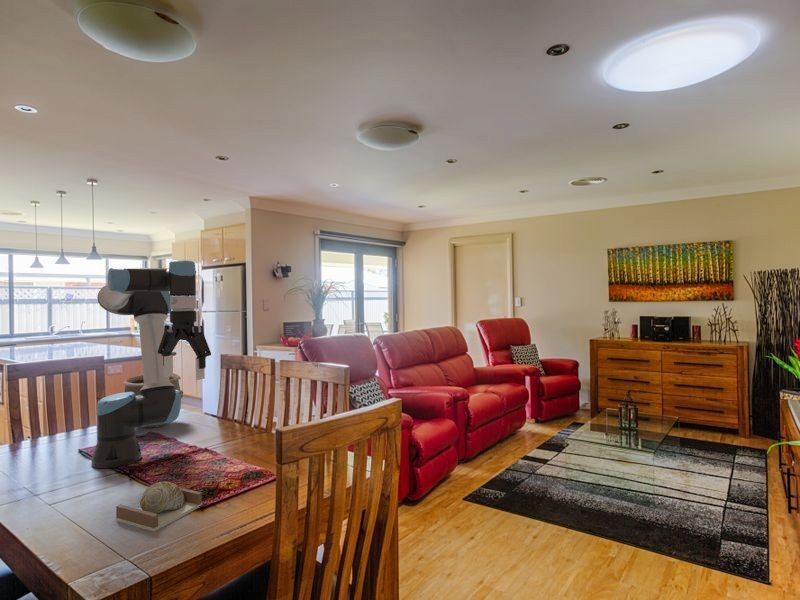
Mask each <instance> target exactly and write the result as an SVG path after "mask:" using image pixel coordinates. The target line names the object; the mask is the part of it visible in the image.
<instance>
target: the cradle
mask: <svg viewBox="0 0 800 600" xmlns="http://www.w3.org/2000/svg"><path fill="white" fill-rule="evenodd" d="M178 487H179V486H178ZM179 488H180V489H181V491H182V493H183V494H184V505H183V507H181V508H178V509H171V510H164V511H162V512H160V513H158V514H155V513H151V512H147V511H144V510H142V509H141V507H140V506H139V507H137V508H136V507H131V506H129V505H128V506H127V505H124V504H118V505H116V506H115V516H116V517H115V519H116V520H115V521H116V522H119V523H123V524H126V525H130V526H133V527H137V528H141V529H144V530H147V531H151V532H156V531H158V530H159V529H162V528H163V527H165V526H167V525H169V524H170V523H173V522H175V521H177V520H179V519H180V518H182V517H184V516H186V515H187V514H190V513H191V512H193V511H196V510H197V509H199V508H200V507H199V506H201V505H202V506H203V503H202V502H203V497H202V496H203V494H202V491H196V490H193V489H188V488H183V487H179ZM202 506H201V507H202Z"/></svg>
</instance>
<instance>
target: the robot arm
mask: <svg viewBox="0 0 800 600" xmlns="http://www.w3.org/2000/svg"><path fill="white" fill-rule="evenodd" d="M196 282H197V270H196V263H195V262H194V261H193V260H185V259H184V260H183V259H182V260H179V259H176V260H171V261H169V264H168V268H167V267H166V268H165V267H163V268H162V267H130V266H127V267H126V266H116V267H115V266H114V267H110V268H109V269H108V271H107V284H106V285H103V286H102V287H101V288H100V290H99V291H98V293H97V297H96V298H97V303H98V304H99V306H100V307H101V308H102V309H104V310H105V311H107V312H108V313H111V314H115V315H118V316H133V320H134V322H136V323H137V324H138V328H139V330H138V331H139V338H140V341H139V342H140V353H141V354H140V355H141V361H142V362H141V364H142V375H143V379H144V386H143V387H142V388H141V389H140V395H137V396H135V393H134V392H124V391H123V392H119V393H114V394H113V393H112V394H111V395H107V396H105V397H102V398H101V399H100V400H98V401H97V404H96V413H95V415H96V435H97V436H96V438H97V440H96V444H95V447H94V450H93V454H92V456H91V466H92V467H93V468H96V469H112V468H119V467H123V466H122V465H124V466H126V464H127V465H130V464H129V463H131V464H133V463H136V462H137V460H138V461H139V460H140V459H142V448H141V447H140V443H139V441H138V439H137V437H136V430H137V429H138V428H139V429H140V428H144V427H146V426H152V425H158V424H164V425H165V424H167V423H172V422H175V421H176V420H177V419H178V418H179V416H180V412H181V407H182V399H181V395H180V391H179V390H175V388H174V385H173V384H172V383H170V381H169V376H173V373H174V355H173V351H174V349H175V348H176V347H177V345H178V344H179V342H180V341H181V340H182V341H186V342H187V343H188V344H189V345H190V347H191V349H192V350H193V352H194V353H195V355H196V358H195V381H199V380H203V379H205V375H206V374H205V369H206V361H207V360H206V358H207V357H210V356H211V355H212V353H211V352H212V351H211V350H210V347H209V344H208V342H207V339H206V336H205V334H204V327H203V325H195V323H196V322H197V311H196V308H197V285H196V284H197V283H196ZM168 315H169V322H170V323H171V324H166V325H165V321H166V320H167V318H168ZM205 380H206V379H205ZM135 461H136V462H135ZM132 462H133V463H132ZM118 466H119V467H118Z"/></svg>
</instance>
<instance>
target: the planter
mask: <svg viewBox="0 0 800 600" xmlns="http://www.w3.org/2000/svg"><path fill="white" fill-rule="evenodd" d="M180 380H181V376H180V375H179V374H176V373H174V372H173V376H169V381H170V383H172V384H173V385H174V388H175V390H179V391H180V395H181V400H182V399H183V395H184V391H183V390H181V385H180V382H179V381H180ZM122 385H123V386H124V391H123V392H134V393H135V396H137V395H140V389H141V388H142V387H143V386H144V379H143V374H141V375H137V376H132V377H129V378H126V379H125V380H124V381H123V382H122ZM164 425H165V424H158V425H152V426H146V427H143V428H144V429H152V428H158V427H162V426H164Z"/></svg>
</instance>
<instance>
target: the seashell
mask: <svg viewBox="0 0 800 600" xmlns="http://www.w3.org/2000/svg"><path fill="white" fill-rule="evenodd" d="M180 488H181V487H180ZM180 488H179V485H177V484H176V483H174V482H172V481H168V480H166V481H158V482H155V483H153V484H151V485H150V486H148V487H147V488H146V489H145V490H144V491H143V493H142V494H141V497H140V500H139V501H140V502H139V507H141V509H142V510H144V511H147V512H151V513H155V514H158V513H160V512H162V511H164V510H171V509H178V508H181V507H183V505H184V494H183V493H182V491H181V489H180Z"/></svg>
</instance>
